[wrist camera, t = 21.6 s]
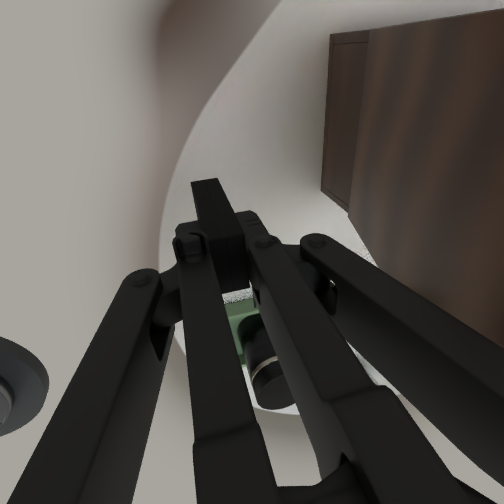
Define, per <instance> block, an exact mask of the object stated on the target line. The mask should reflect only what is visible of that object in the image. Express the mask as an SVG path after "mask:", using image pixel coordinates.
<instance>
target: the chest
mask: <svg viewBox="0 0 504 504" xmlns="http://www.w3.org/2000/svg"><path fill="white" fill-rule="evenodd" d="M369 33H370V29H369V30H361V31H353V32H345V33H337V34H331V35H330V47H329V63H328V80H327V97H326V114H325V130H324V147H323V164H322V180H321V191H322V192H323V193H324V194H325V195H327V196H328V197H329V198H330V199H331V200H333V201H334V202H335V203H336V204H338V205H339V206H340V207H341V208H342V209H344V210H345V211H346V212H347V213H348V211H349V203H350V194H351V186H352V177H353V169H354V160H355V152H356V143H357V135H358V127H359V118H360V110H361V101H362V93H363V84H364V76H365V67H366V59H367V50H368V42H369Z"/></svg>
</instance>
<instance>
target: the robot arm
mask: <svg viewBox="0 0 504 504" xmlns="http://www.w3.org/2000/svg"><path fill="white" fill-rule="evenodd" d="M191 187H192V192H193V197H194V203H195V208H196V213H197V218H198V220H197V221H192V222H186V223H181V224H179V225H178V226H177V228H176V229H175V232H176V237H175V238H174V239H173V241H172V244H173V248H174V252H175V256H176V260H177V263H176V264H175V265H174V266H173V267H172V268H171V269H169V270H167V271H165V272H163V273H161V274H159V272H158V271H157V270H154V269H147V268H146V269H141V270H137V271H134V272H132V273H131V274H129V275H128V276H127V277H126V278H125V279H124V280H123V282H122V284H121V286H120V288H119V290H118V292H117V293H116V295H115V297H114V299H113V301H112V303H111V305H110V307H109V309H108V311H107V313H106V314H105V316H104V318H103V320H102V322H101V324H100V326H99V328H98V330H97V332H96V334H95V335H94V337H93V339H92V341H91V343H90V345H89V347H88V349H87V351H86V353H85V355H84V357H83V359H82V360H81V362H80V364H79V366H78V368H77V370H76V372H75V374H74V376H73V378H72V380H71V382H70V383H69V385H68V387H67V389H66V391H65V393H64V395H63V397H62V399H61V401H60V403H59V405H58V406H57V408H56V410H55V412H54V414H53V416H52V418H51V420H50V422H49V424H48V425H47V427H46V430H45V431H44V433H43V435H42V437H41V439H40V441H39V443H38V445H37V447H36V449H35V450H34V452H33V455H32V456H31V458H30V460H29V462H28V464H27V466H26V468H25V470H24V471H23V474H22V475H21V477H20V479H19V481H18V483H17V485H16V487H15V489H14V491H13V493H12V494H11V496H10V498H9V500H8V502H7V504H132V500H133V496H134V492H135V488H136V484H137V480H138V475H139V471H140V467H141V463H142V459H143V456H144V451H145V447H146V443H147V439H148V435H149V431H150V427H151V423H152V419H153V415H154V411H155V407H156V403H157V399H158V395H159V391H160V387H161V383H162V379H163V375H164V371H165V367H166V363H167V359H168V355H169V351H170V346H171V343H172V338H173V335H174V331H175V323H177V322H179V321H181V320H183V328H184V337H185V347H186V357H187V366H188V377H189V387H190V396H191V406H192V416H193V426H194V437H195V438H194V444H193V463H194V464H193V465H194V476H195V487H196V498H197V504H497V503H495V502H494V501H492V500H490V499H489V498H487V497H486V496H484V495H482V494H481V493H479V492H478V491H476V490H475V489H473V488H471V487H470V486H468V485H467V484H465V483H463V482H462V481H460V480H459V479H457V478H455V477H454V476H453V475H452V474H451V473H450V471H449V470H448V468H447V467H446V465H445V464H444V463H443V461H442V460H441V458H440V457H439V456H438V454H437V453H436V451H435V450H434V448H433V447H432V446H431V444H430V443H429V441H428V440H427V438H426V437H425V436H424V434H423V433H422V431H421V430H420V428H419V427H418V426H417V424H416V423H415V421H414V420H413V418H412V417H411V415H410V414H409V413H408V411H407V410H406V408H405V407H404V405H403V404H402V403H401V401H400V400H399V398H398V397H397V396H396V395H395V393H394V392H393V391H392V390H391V389H390V388H388V387H387V386H385V385H377V384H375V383H374V382H373V381H372V379H371V378H370V377H369V375H368V374H367V372H366V371H365V369H364V367H363V366H362V364H361V363H360V361H359V360H358V358H357V357H356V355H355V354H354V352H353V351H352V349H351V348H350V346H349V345H348V343H349V344H350V345H351V346H352V347H353V348H354V349H356V350H357V351H358V352H359V353H360V354H361V355H362V356H363V357H364V358H365V359H366V360H367V361H368V362H369V363H370V364H371V365H372V366H373V367H374V368H375V369H376V370H377V371H378V372H379V373H380V374H381V375H382V376H383V377H385V378H386V379H387V380H388V381H389V382H390V383H391V384H392V385H393V386H394V387H395V388H396V389H397V390H398V391H399V392H400V393H401V394H402V395H403V396H404V397H405V398H406V399H408V401H409V402H410V403H411V404H412V405H413V406H415V407H416V408H417V409H418V410H419V411H420V412H421V413H422V414H423V415H424V416H425V417H426V418H427V419H428V420H429V421H430V422H431V423H432V424H433V425H434V426H435V427H436V428H437V429H439V431H440V432H441V433H443V434H444V435H445V436H446V437H447V438H448V439H449V440H450V441H451V442H452V443H453V444H454V445H455V446H456V447H457V448H458V449H459V450H460V451H461V452H462V453H464V454H465V455H466V456H467V457H468V458H469V459H470V460H471V461H472V462H474V463H475V464H476V465H477V466H478V467H479V468H480V469H482V470H483V471H484V472H485V473H487V474H488V475H489V476H491V477H492V478H493V479H494V480H496V481H497V482H498V483H500V484H501V485H502V486H504V348H502V347H500V346H499V345H497V344H496V343H494V342H493V341H491V340H490V339H488V338H486V337H485V336H483V335H482V334H480V333H479V332H477V331H476V330H474V329H472V328H471V327H469V326H468V325H466V324H465V323H463V322H462V321H460V320H458V319H457V318H455V317H454V316H452V315H451V314H449V313H447V312H446V311H444V310H443V309H441V308H440V307H438V306H437V305H435V304H433V303H432V302H430V301H429V300H427V299H426V298H424V297H423V296H421V295H419V294H418V293H416V292H415V291H413V290H412V289H410V288H409V287H407V286H405V285H404V284H402V283H401V282H399V281H398V280H396V279H395V278H393V277H391V276H390V275H388V274H387V273H385V272H384V271H382V270H380V269H379V268H377V267H376V266H374V265H373V264H371V263H370V262H368V261H366V260H365V259H363V258H362V257H360V256H359V255H357V254H356V253H354V252H352V251H351V250H349V249H348V248H346V247H345V246H343V245H342V244H340V243H338V242H337V241H335V240H334V239H332V238H331V237H329V236H327V235H324V234H319V233H316V234H315V233H312V234H308V235H305V236H303V237H302V238H301V240H300V245H286V244H282V243H281V241H280V240H279V239H278V238H277V237H275V236H273V235H270V234H269V233H268V231H267V229H266V228H265V226H264V225H263V224H262V222H261V220H260V218H259V217H258V215H257V214H256V213H254V212H252V211H250V210H248V211H243V212H237V213H234V211H233V209H232V207H231V205H230V203H229V201H228V199H227V197H226V194H225V192H224V190H223V188H222V186H221V184H220V182H219V180H218V178H213V179H206V180H200V181H194V182H191ZM249 280H250V282H251V284H252V292H253V302H254V308H257V307H258V309H259V312H260V315H261V317H262V320H263V322H264V325H265V327H266V330H267V332H268V335H269V337H270V340H271V342H272V345H273V347H274V350H275V353H276V355H277V358H278V360H279V363H280V365H281V368H282V370H283V373H284V375H285V378H286V380H287V383H288V385H289V388H290V391H291V393H292V396H293V398H294V401H295V403H296V406H297V408H298V411H299V413H300V416H301V418H302V421H303V423H304V426H305V428H306V431H307V434H308V436H309V439H310V441H311V444H312V446H313V449H314V452H315V454H316V458H317V462H318V467H319V471H320V476H321V479H322V481H321V482H320V483H318V484H316V485H313V486H281V487H277V484H276V481H275V477H274V473H273V470H272V467H271V463H270V459H269V456H268V452H267V449H266V445H265V441H264V438H263V435H262V432H261V429H260V426H259V424H258V423H257V420H256V417H255V414H254V410H253V406H252V403H251V399H250V396H249V392H248V388H247V385H246V381H245V377H244V374H243V370H242V366H241V363H240V359H239V356H238V352H237V348H236V345H235V341H234V337H233V334H232V330H231V326H230V323H229V319H228V316H227V312H226V308H225V305H224V301H223V297H222V294H224V293H229V292H233V291H237V290H242V289H246V288H250V282H249ZM330 280H332V281H333V282H334V283H335V285H334V284H333V283H332V282H330ZM256 304H257V306H256ZM346 341H347V342H348V343H347V342H346ZM14 400H15V395H14V391H13V389H12V387H11V386H10V384H9V383H8V382H7V381H6V380H5V379H3V378H2V377H1V376H0V426H1V425H2V424H3V423H4V422H5V421H6V419H7V418H8V416H9V413H10V411H11V408H12V406H13V403H14Z"/></svg>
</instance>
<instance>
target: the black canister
mask: <svg viewBox="0 0 504 504" xmlns="http://www.w3.org/2000/svg"><path fill="white" fill-rule="evenodd" d="M237 335H238V339H239V342H240V346H241V349H242V352H243V356H244V359H245V363H246V366H247V369H248V373H249V376H250V380H251V385H252V387H253V390H254V393H255V397H256V400H257V403H258V405H259V406H261V407H262V408H264V409H269V410H276V409H282V408H285V407H288V406H290V405H292V404H294V403H295V401H294V398H293V396H292V393H291V391H290V388H289V385H288V383H287V380H286V378H285V375H284V373H283V370H282V368H281V365H280V363H279V360H278V358H277V355H276V353H275V350H274V347H273V345H272V342H271V340H270V337H269V335H268V332H267V330H266V327H265V325H264V322H263V320H262V317H261V315H260V313H257V314H253V315H249V316H246V317H245V318H244V319H243V320H242V321H241V322H240V324H239V326H238V328H237Z"/></svg>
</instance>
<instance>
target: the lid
mask: <svg viewBox="0 0 504 504" xmlns="http://www.w3.org/2000/svg"><path fill="white" fill-rule="evenodd" d="M348 218H349V220H350V221H351V223H352V224H353V226H354V228H355V229H356V231H357V233H358V234H359V236H360V238H361V239H362V241H363V243H364V244H365V246H366V248H367V249H368V251H369V253H370V254H371V256H372V258H373V259H374V261H375V263H376V264H377V266H378V268H379V269H380V270H382V271H384V272H385V273H387V274H388V275H390V276H391V277H393V278H395V279H396V280H398V281H399V282H401V283H402V284H404V285H405V286H407V287H409V288H410V289H412V290H413V291H415V292H416V293H418V294H419V295H421V296H423V297H424V298H426V299H427V300H429V301H430V302H432V303H433V304H435V305H437V306H438V307H440V308H441V309H443V310H444V311H446V312H447V313H449V314H451V315H452V316H454V317H455V318H457V319H458V320H460V321H462V322H463V323H465V324H466V325H468V326H469V327H471V328H472V329H474V330H476V331H477V332H479V333H480V334H482V335H483V336H485V337H486V338H488V339H490V340H491V341H493V342H494V343H496V344H497V345H499V346H500V347H502V348H504V8H502V9H496V10H489V11H483V12H476V13H470V14H464V15H457V16H451V17H444V18H438V19H432V20H425V21H419V22H412V23H406V24H400V25H393V26H387V27H380V28H374V29H370V33H369V42H368V50H367V59H366V67H365V76H364V84H363V93H362V101H361V110H360V118H359V127H358V135H357V143H356V152H355V160H354V169H353V177H352V186H351V194H350V203H349V211H348Z"/></svg>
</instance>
